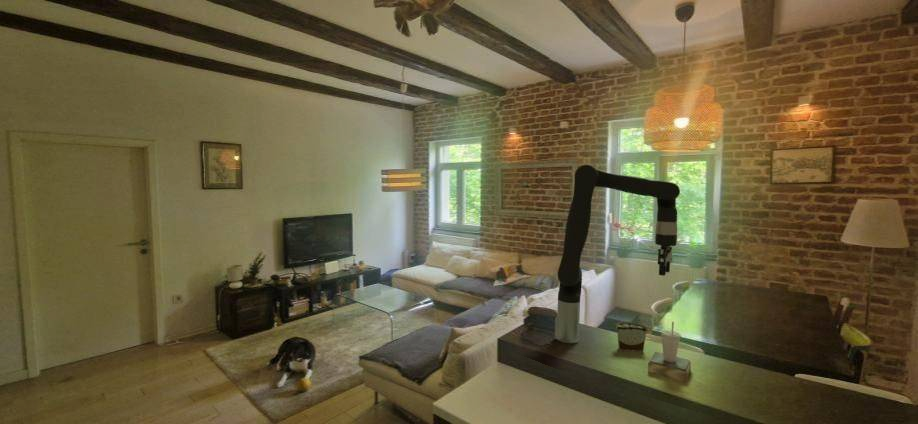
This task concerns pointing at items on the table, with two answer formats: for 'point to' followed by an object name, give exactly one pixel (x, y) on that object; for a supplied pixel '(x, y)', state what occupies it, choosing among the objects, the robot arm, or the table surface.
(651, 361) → the oak plinth
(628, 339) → the food container
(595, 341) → the table surface
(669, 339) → the smoothie
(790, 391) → the table surface
